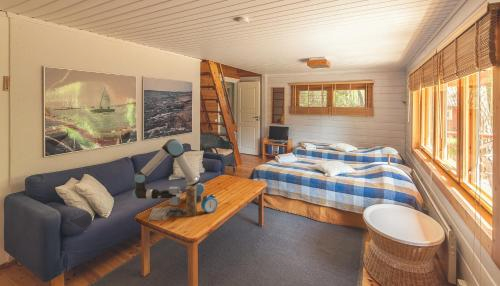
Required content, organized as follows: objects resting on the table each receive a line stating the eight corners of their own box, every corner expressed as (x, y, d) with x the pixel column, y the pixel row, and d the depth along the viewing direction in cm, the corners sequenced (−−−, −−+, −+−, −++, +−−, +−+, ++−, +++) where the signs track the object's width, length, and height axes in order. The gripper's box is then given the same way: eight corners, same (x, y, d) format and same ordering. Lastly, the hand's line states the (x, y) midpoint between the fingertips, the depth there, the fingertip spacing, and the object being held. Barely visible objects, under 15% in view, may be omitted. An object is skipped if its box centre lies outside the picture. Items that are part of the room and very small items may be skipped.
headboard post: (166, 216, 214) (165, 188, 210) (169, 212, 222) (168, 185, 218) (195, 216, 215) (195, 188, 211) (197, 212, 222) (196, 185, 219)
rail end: (169, 204, 214) (168, 188, 212) (170, 202, 219) (170, 186, 217) (179, 204, 214) (178, 188, 212) (180, 202, 219) (180, 186, 217)
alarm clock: (203, 214, 218) (203, 197, 215) (200, 212, 223) (200, 195, 220) (217, 211, 225) (217, 194, 223) (214, 208, 230) (214, 192, 228)
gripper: (156, 194, 224) (183, 194, 225) (149, 202, 207) (178, 202, 207) (156, 186, 223) (183, 186, 224) (148, 193, 206) (178, 193, 206)
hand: (181, 194), depth 215 cm, fingers closed on rail end, 5 cm apart
